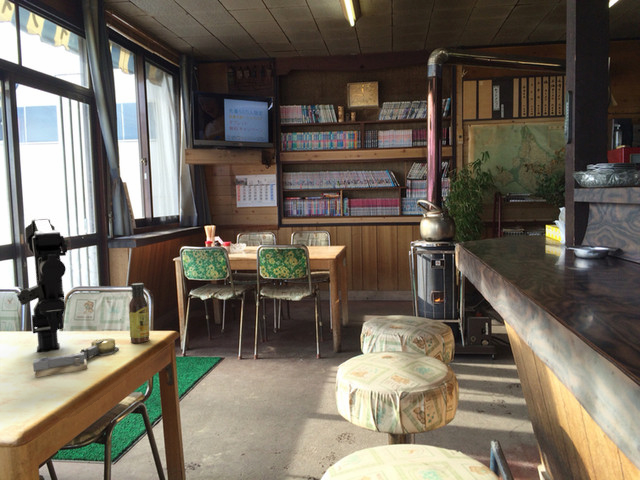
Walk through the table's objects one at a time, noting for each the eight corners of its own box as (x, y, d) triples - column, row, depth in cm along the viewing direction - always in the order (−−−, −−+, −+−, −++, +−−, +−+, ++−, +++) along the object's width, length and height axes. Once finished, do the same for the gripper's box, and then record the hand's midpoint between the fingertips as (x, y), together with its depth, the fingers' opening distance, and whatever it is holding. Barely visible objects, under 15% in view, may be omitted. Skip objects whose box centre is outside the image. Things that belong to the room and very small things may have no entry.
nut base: (87, 350, 162) (87, 349, 162) (117, 345, 166) (117, 345, 166) (89, 357, 154) (89, 356, 154) (120, 352, 158) (120, 351, 158)
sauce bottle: (143, 344, 167) (139, 285, 165) (126, 343, 168) (123, 285, 167) (153, 338, 173) (150, 282, 172) (137, 338, 175) (134, 282, 173)
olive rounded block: (100, 346, 164) (100, 337, 164) (119, 346, 163) (119, 337, 162) (73, 359, 151) (72, 349, 151) (93, 360, 149) (92, 350, 149)
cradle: (35, 377, 137) (34, 366, 137) (36, 370, 143) (35, 359, 143) (87, 368, 143) (86, 358, 143) (86, 362, 149) (85, 352, 149)
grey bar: (33, 371, 138) (33, 362, 138) (34, 368, 141) (33, 359, 141) (84, 363, 144) (83, 355, 144) (84, 360, 147) (83, 351, 147)
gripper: (19, 274, 146) (23, 326, 148) (15, 283, 130) (19, 341, 131) (62, 270, 151) (66, 320, 153) (62, 279, 135) (67, 335, 136)
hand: (54, 329), depth 143 cm, fingers open, 9 cm apart
